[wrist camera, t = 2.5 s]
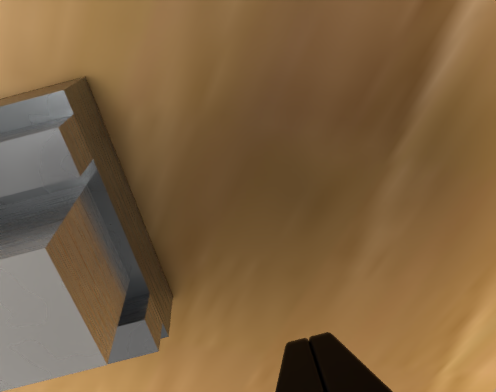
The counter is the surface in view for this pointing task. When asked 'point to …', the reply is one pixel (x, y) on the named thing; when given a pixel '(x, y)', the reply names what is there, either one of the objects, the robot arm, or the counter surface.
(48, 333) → the grey cube
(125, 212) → the slot board
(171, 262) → the counter surface
